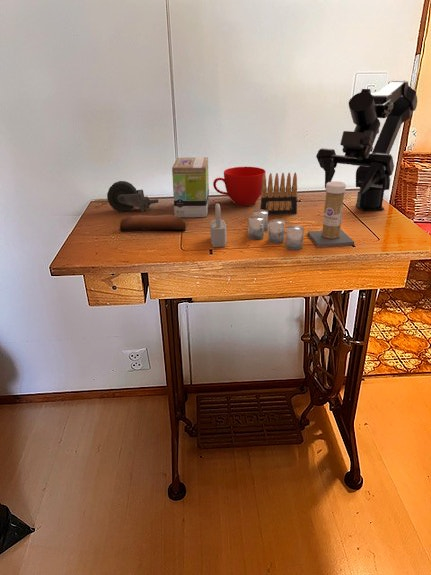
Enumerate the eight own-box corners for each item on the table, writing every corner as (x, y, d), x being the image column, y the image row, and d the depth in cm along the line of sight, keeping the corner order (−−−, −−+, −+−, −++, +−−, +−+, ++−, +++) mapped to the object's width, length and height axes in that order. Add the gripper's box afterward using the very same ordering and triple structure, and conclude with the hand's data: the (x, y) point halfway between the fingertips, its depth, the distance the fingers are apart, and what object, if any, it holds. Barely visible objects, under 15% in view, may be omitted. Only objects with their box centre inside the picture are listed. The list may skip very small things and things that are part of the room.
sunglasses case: (188, 221, 128) (186, 205, 122) (187, 240, 124) (184, 225, 119) (126, 222, 129) (121, 206, 123) (123, 241, 125) (117, 226, 120)
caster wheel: (110, 217, 137) (158, 210, 136) (102, 186, 132) (152, 179, 132) (113, 211, 142) (160, 205, 141) (106, 181, 137) (154, 174, 137)
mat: (341, 232, 117) (341, 229, 117) (353, 244, 109) (354, 241, 109) (307, 234, 116) (307, 231, 116) (318, 247, 108) (318, 244, 108)
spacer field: (286, 225, 123) (287, 207, 120) (304, 250, 107) (305, 230, 105) (244, 228, 122) (244, 210, 120) (255, 253, 106) (256, 233, 104)
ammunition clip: (295, 211, 133) (298, 171, 128) (296, 213, 132) (299, 172, 126) (259, 212, 133) (260, 172, 128) (260, 214, 132) (261, 174, 126)
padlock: (210, 237, 116) (209, 200, 112) (225, 237, 116) (225, 199, 112) (211, 247, 110) (209, 208, 106) (227, 247, 110) (226, 208, 106)
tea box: (208, 217, 131) (206, 166, 124) (173, 218, 131) (170, 167, 124) (209, 202, 144) (208, 155, 137) (178, 203, 144) (175, 156, 138)
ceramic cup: (207, 201, 145) (205, 170, 141) (254, 195, 150) (254, 165, 146) (221, 212, 134) (221, 179, 130) (272, 205, 140) (273, 173, 135)
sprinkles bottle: (319, 238, 112) (324, 184, 105) (323, 232, 115) (328, 180, 109) (338, 240, 110) (344, 186, 104) (341, 234, 114) (347, 181, 107)
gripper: (321, 115, 113) (300, 168, 110) (398, 119, 103) (376, 177, 100) (331, 142, 122) (311, 192, 119) (402, 147, 112) (382, 202, 110)
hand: (343, 190), depth 112 cm, fingers open, 9 cm apart
